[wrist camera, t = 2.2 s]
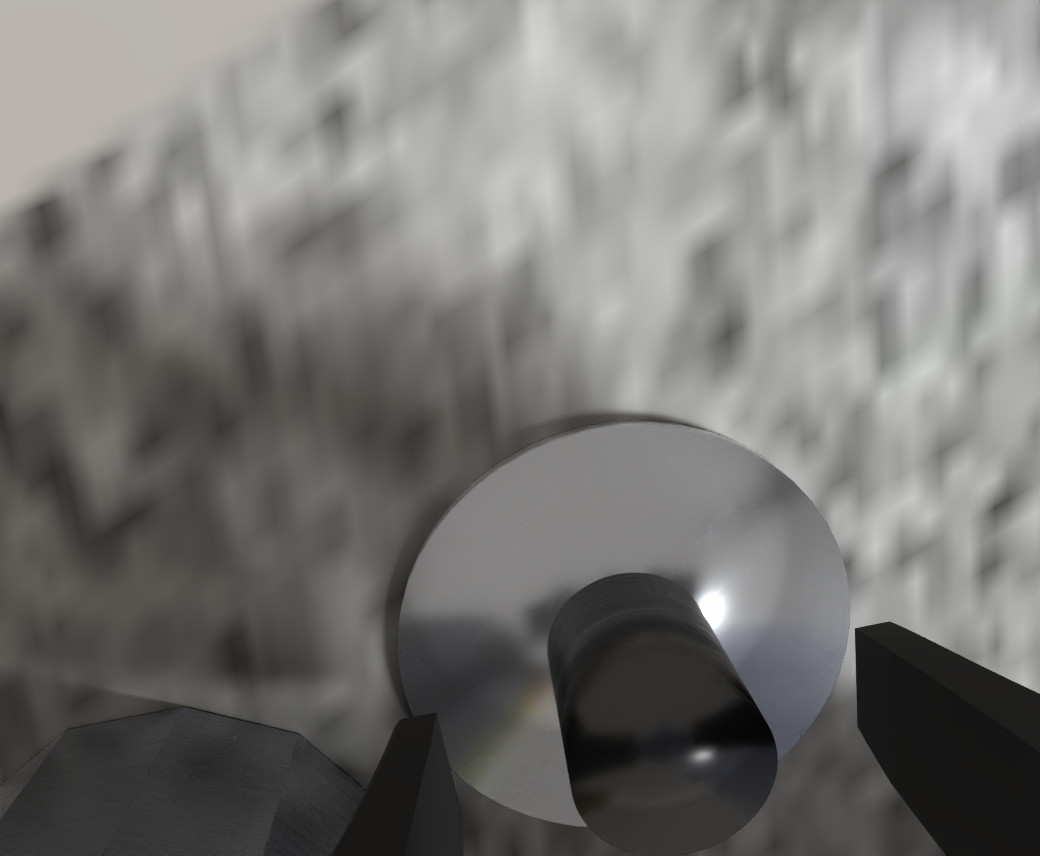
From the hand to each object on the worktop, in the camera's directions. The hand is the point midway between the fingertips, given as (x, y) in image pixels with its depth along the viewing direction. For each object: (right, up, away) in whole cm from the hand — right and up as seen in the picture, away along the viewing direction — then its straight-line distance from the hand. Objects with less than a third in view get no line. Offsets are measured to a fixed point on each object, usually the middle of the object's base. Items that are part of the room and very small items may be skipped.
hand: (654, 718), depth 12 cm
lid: (0, +1, +3) cm, 3 cm away
